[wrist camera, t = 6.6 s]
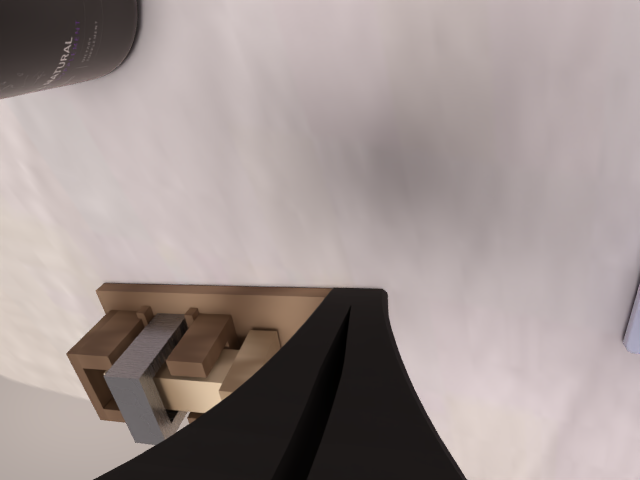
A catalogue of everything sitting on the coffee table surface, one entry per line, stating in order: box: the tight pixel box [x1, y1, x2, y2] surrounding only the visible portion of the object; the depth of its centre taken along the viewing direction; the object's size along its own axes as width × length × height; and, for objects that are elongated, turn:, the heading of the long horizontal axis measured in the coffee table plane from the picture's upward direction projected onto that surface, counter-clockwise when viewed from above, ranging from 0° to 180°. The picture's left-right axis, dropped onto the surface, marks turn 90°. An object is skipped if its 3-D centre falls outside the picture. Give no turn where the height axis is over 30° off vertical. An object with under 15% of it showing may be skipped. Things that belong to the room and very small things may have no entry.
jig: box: [66, 283, 332, 424], centre depth 24 cm, size 17×8×5 cm, turn 97°
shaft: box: [104, 330, 281, 413], centre depth 23 cm, size 9×4×4 cm, turn 97°
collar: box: [104, 313, 189, 445], centre depth 24 cm, size 2×5×5 cm, turn 7°
